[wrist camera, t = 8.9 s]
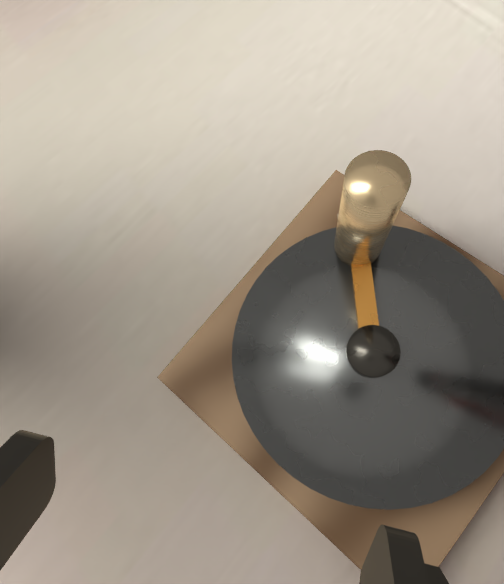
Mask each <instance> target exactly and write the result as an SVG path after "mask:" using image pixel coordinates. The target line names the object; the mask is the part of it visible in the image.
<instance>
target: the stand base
mask: <svg viewBox="0 0 504 584" xmlns="http://www.w3.org/2000/svg"><path fill="white" fill-rule="evenodd" d="M344 176H345V175H343V174H342V173H340V172H339V171H337V170H336V171H335V172H334V173H333V174H332V175H331V177H330V178H329V179H328V180H327V181H326V182H325V184H324V185H323V186H322V187H321V188H320V189H319V190H318V192H317V193H316V194H315V195H314V196H313V197H312V199H311V200H310V201H309V202H308V203H307V204H306V206H305V207H304V208H303V209H302V210H301V211H300V213H299V214H298V215H297V216H296V217H295V218H294V219H293V221H292V222H291V223H290V224H289V225H288V226H287V228H286V229H285V230H284V231H283V232H282V233H281V235H280V236H279V237H278V238H277V239H276V240H275V242H274V243H273V244H272V245H271V246H270V247H269V248H268V250H267V251H266V252H265V253H264V254H263V255H262V257H261V258H260V259H259V260H258V261H257V262H256V264H255V265H254V266H253V267H252V268H251V269H250V271H249V272H248V273H247V274H246V275H245V276H244V277H243V279H242V280H241V281H240V282H239V283H238V284H237V286H236V287H235V288H234V289H233V290H232V291H231V293H230V294H229V295H228V296H227V297H226V298H225V300H224V301H223V302H222V303H221V304H220V305H219V306H218V308H217V309H216V310H215V311H214V312H213V313H212V315H211V316H210V317H209V318H208V319H207V320H206V322H205V323H204V324H203V325H202V326H201V327H200V329H199V330H198V331H197V332H196V333H195V334H194V335H193V337H192V338H191V339H190V340H189V341H188V342H187V344H186V345H185V346H184V347H183V348H182V349H181V351H180V352H179V353H178V354H177V355H176V356H175V358H174V359H173V360H172V361H171V362H170V363H169V364H168V366H167V367H166V368H165V369H164V370H163V371H162V373H161V374H160V375H159V376H158V377H157V378H159V379H160V380H161V381H162V382H163V383H164V384H165V385H166V386H167V387H168V388H169V389H170V390H171V391H172V392H173V393H174V394H175V395H177V396H178V397H179V398H180V399H181V400H182V401H183V402H184V403H185V404H186V405H187V406H188V407H189V408H190V409H191V410H192V411H193V412H194V413H196V414H197V415H198V416H199V417H200V418H201V419H202V420H203V421H204V422H205V423H206V424H207V425H208V426H209V427H210V428H211V429H212V430H214V431H215V432H216V433H217V434H218V435H219V436H220V437H221V438H222V439H223V440H224V441H225V442H226V443H227V444H228V445H229V446H230V447H232V448H233V449H234V450H235V451H236V452H237V453H238V454H239V455H240V456H241V457H242V458H243V459H244V460H245V461H246V462H247V463H248V464H249V465H251V466H252V467H253V468H254V469H255V470H256V471H257V472H258V473H259V474H260V475H261V476H262V477H263V478H264V479H265V480H266V481H267V482H269V483H270V484H271V485H272V486H273V487H274V488H275V489H276V490H277V491H278V492H279V493H280V494H281V495H282V496H283V497H284V498H285V499H287V500H288V501H289V502H290V503H291V504H292V505H293V506H294V507H295V508H296V509H297V510H298V511H299V512H300V513H301V514H302V515H303V516H305V517H306V518H307V519H308V520H309V521H310V522H311V523H312V524H313V525H314V526H315V527H316V528H317V529H318V530H319V531H320V532H321V533H322V534H324V535H325V536H326V537H327V538H328V539H329V540H330V541H331V542H332V543H333V544H334V545H335V546H336V547H337V548H338V549H339V550H340V551H342V552H343V553H344V554H345V555H346V556H347V557H348V558H349V559H350V560H351V561H352V562H353V563H354V564H355V565H356V566H357V567H358V568H360V569H361V570H362V566H363V564H364V561H365V559H366V556H367V554H368V552H369V549H370V547H371V544H372V542H373V540H374V537H375V535H376V532H377V530H378V528H379V526H380V525H386V526H390V527H394V528H398V529H401V530H405V531H409V532H413V533H415V534H416V535H417V537H418V539H419V542H420V546H421V550H422V555H423V559H424V563H425V564H429V565H433V566H437V567H439V565H440V564H441V562H442V561H443V560H444V558H445V557H446V555H447V554H448V552H449V551H450V549H451V548H452V547H453V545H454V544H455V542H456V541H457V539H458V538H459V536H460V535H461V534H462V532H463V531H464V529H465V528H466V526H467V525H468V523H469V522H470V521H471V519H472V518H473V516H474V515H475V513H476V512H477V510H478V509H479V508H480V506H481V505H482V503H483V502H484V500H485V499H486V497H487V496H488V495H489V493H490V492H491V490H492V489H493V487H494V486H495V484H496V483H497V482H498V480H499V479H500V477H501V476H502V474H503V473H504V449H503V451H502V452H501V454H500V455H499V457H498V458H497V459H496V460H495V461H494V462H493V463H492V465H491V466H490V467H489V468H488V469H487V470H486V471H485V472H484V473H483V474H482V475H481V476H479V477H478V478H477V479H476V480H474V481H473V482H472V483H471V484H470V485H468V486H466V487H465V488H463V489H461V490H460V491H458V492H456V493H454V494H453V495H451V496H448V497H446V498H443V499H441V500H438V501H436V502H433V503H430V504H426V505H422V506H417V507H413V508H405V509H393V510H386V509H369V508H364V507H359V506H354V505H348V504H346V503H343V502H340V501H337V500H334V499H331V498H328V497H326V496H324V495H322V494H320V493H318V492H316V491H314V490H312V489H310V488H308V487H307V486H305V485H304V484H302V483H301V482H299V481H298V480H296V479H295V478H293V477H292V476H291V475H290V474H289V473H287V472H286V471H285V470H284V469H283V468H282V467H281V466H279V465H278V464H277V463H276V462H275V461H274V459H273V458H272V457H271V456H270V455H269V454H268V453H267V452H266V450H265V449H264V448H263V447H262V445H261V444H260V442H259V441H258V439H257V438H256V436H255V435H254V433H253V432H252V430H251V428H250V426H249V424H248V422H247V420H246V418H245V416H244V414H243V411H242V409H241V406H240V403H239V400H238V397H237V393H236V389H235V384H234V380H233V370H232V342H233V336H234V330H235V325H236V322H237V319H238V315H239V312H240V309H241V307H242V305H243V302H244V300H245V298H246V296H247V294H248V292H249V290H250V289H251V287H252V286H253V284H254V282H255V281H256V279H257V278H258V277H259V276H260V274H261V273H262V272H263V271H264V269H265V268H266V267H267V266H268V265H269V264H270V263H271V262H272V261H273V260H274V259H275V258H276V257H278V256H279V255H280V254H281V253H283V252H284V251H285V250H287V249H288V248H289V247H291V246H292V245H294V244H296V243H298V242H299V241H301V240H303V239H305V238H306V237H309V236H311V235H314V234H316V233H319V232H321V231H324V230H328V229H331V228H335V227H337V222H338V215H339V209H340V202H341V195H342V189H343V182H344ZM393 226H398V227H403V228H408V229H411V230H414V231H417V232H421V233H424V234H426V235H428V236H431V237H433V238H435V239H437V240H439V241H442V242H443V243H445V244H447V245H448V246H450V247H452V248H453V249H455V250H457V251H458V252H459V253H461V254H462V255H463V256H465V257H466V258H467V259H468V260H470V261H471V262H472V263H473V264H474V265H475V266H476V267H477V268H478V269H479V270H480V271H481V272H483V273H484V274H485V275H486V277H487V278H488V279H489V280H490V282H491V283H492V284H493V285H494V287H495V288H496V289H497V290H498V292H499V293H500V295H501V297H502V298H503V300H504V276H503V275H502V274H500V273H499V272H497V271H495V270H494V269H492V268H491V267H489V266H487V265H486V264H484V263H483V262H481V261H480V260H478V259H476V258H475V257H473V256H472V255H470V254H468V253H467V252H465V251H464V250H462V249H461V248H459V247H457V246H456V245H454V244H453V243H451V242H449V241H448V240H446V239H445V238H443V237H442V236H440V235H438V234H437V233H435V232H434V231H432V230H430V229H429V228H427V227H426V226H424V225H423V224H421V223H419V222H418V221H416V220H415V219H413V218H411V217H410V216H408V215H407V214H405V213H403V212H402V211H400V210H399V212H398V215H397V217H396V219H395V221H394V223H393Z"/></svg>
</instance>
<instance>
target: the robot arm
mask: <svg viewBox="0 0 504 584" xmlns="http://www.w3.org/2000/svg"><path fill="white" fill-rule="evenodd" d="M55 483H56V477H55V456H54V441H53V439H52V438H51V437H47V436H44V435H40V434H36V433H32V432H28V431H24V430H21V431H18V432H16V433H15V434H14V435H13V436H12V437H11V438H10V439H9V440H8V441H7V442H6V443H5V444H4V445H3V446H2V447H1V448H0V570H1V569H2V567H3V566H4V565H5V563H6V562H7V561H8V559H9V558H10V556H11V555H12V554H13V552H14V551H15V550H16V548H17V547H18V545H19V544H20V543H21V541H22V540H23V539H24V537H25V536H26V534H27V533H28V532H29V530H30V529H31V528H32V526H33V525H34V523H35V522H36V521H37V519H38V518H39V517H40V515H41V514H42V512H43V511H44V510H45V508H46V507H47V505H48V503H49V501H50V499H51V497H52V494H53V492H54V488H55ZM360 584H449V583H448V581H447V580H446V578H445V576H444V575H443V573H442V571H441V570H440V568H439V567H437V566H433V565H429V564H425V563H424V559H423V555H422V550H421V546H420V542H419V539H418V537H417V535H416V534H415V533H413V532H409V531H405V530H401V529H398V528H394V527H390V526H386V525H380V526H379V528H378V530H377V532H376V535H375V537H374V540H373V542H372V544H371V547H370V549H369V552H368V554H367V556H366V559H365V561H364V564H363V566H362V570H361V576H360Z"/></svg>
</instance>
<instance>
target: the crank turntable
mask: <svg viewBox="0 0 504 584" xmlns="http://www.w3.org/2000/svg"><path fill="white" fill-rule="evenodd" d="M410 184H411V174H410V170H409V168H408V166H407V164H406V163H405V162H404V161H403V160H402V159H401V158H400V157H398V156H397V155H395V154H393V153H390V152H387V151H382V150H374V151H368V152H365V153H362V154H360V155H358V156H357V157H356V158H354V159H353V160H352V161H351V162H350V164H349V165H348V167H347V169H346V171H345V176H344V182H343V189H342V195H341V202H340V209H339V215H338V222H337V227H335V228H331V229H328V230H324V231H321V232H319V233H316V234H314V235H311V236H309V237H306V238H305V239H303V240H301V241H299V242H298V243H296V244H294V245H292V246H291V247H289V248H288V249H287V250H285V251H284V252H283V253H281V254H280V255H279V256H278V257H276V258H275V259H274V260H273V261H272V262H271V263H270V264H269V265H268V266H267V267H266V268H265V269H264V271H263V272H262V273H261V274H260V276H259V277H258V278H257V279H256V281H255V282H254V284H253V286H252V287H251V289H250V290H249V292H248V294H247V296H246V298H245V300H244V302H243V305H242V307H241V309H240V312H239V315H238V319H237V322H236V325H235V330H234V336H233V342H232V370H233V380H234V384H235V389H236V393H237V397H238V400H239V403H240V406H241V409H242V411H243V414H244V416H245V418H246V420H247V422H248V424H249V426H250V428H251V430H252V432H253V433H254V435H255V436H256V438H257V439H258V441H259V442H260V444H261V445H262V447H263V448H264V449H265V450H266V452H267V453H268V454H269V455H270V456H271V457H272V458H273V459H274V461H275V462H276V463H277V464H278V465H279V466H281V467H282V468H283V469H284V470H285V471H286V472H287V473H289V474H290V475H291V476H292V477H293V478H295V479H296V480H298V481H299V482H301V483H302V484H304V485H305V486H307V487H308V488H310V489H312V490H314V491H316V492H318V493H320V494H322V495H324V496H326V497H328V498H331V499H334V500H337V501H340V502H343V503H346V504H348V505H354V506H359V507H364V508H369V509H386V510H393V509H405V508H413V507H417V506H422V505H426V504H430V503H433V502H436V501H438V500H441V499H443V498H446V497H448V496H451V495H453V494H454V493H456V492H458V491H460V490H461V489H463V488H465V487H466V486H468V485H470V484H471V483H472V482H473V481H474V480H476V479H477V478H478V477H479V476H481V475H482V474H483V473H484V472H485V471H486V470H487V469H488V468H489V467H490V466H491V465H492V463H493V462H494V461H495V460H496V459H497V458H498V457H499V455H500V454H501V452H502V451H503V449H504V300H503V298H502V297H501V295H500V293H499V292H498V290H497V289H496V288H495V287H494V285H493V284H492V283H491V282H490V280H489V279H488V278H487V277H486V275H485V274H484V273H483V272H481V271H480V270H479V269H478V268H477V267H476V266H475V265H474V264H473V263H472V262H471V261H470V260H468V259H467V258H466V257H465V256H463V255H462V254H461V253H459V252H458V251H457V250H455V249H453V248H452V247H450V246H448V245H447V244H445V243H443V242H442V241H439V240H437V239H435V238H433V237H431V236H428V235H426V234H424V233H421V232H417V231H414V230H411V229H408V228H403V227H398V226H393V223H394V221H395V219H396V217H397V215H398V212H399V210H400V208H401V206H402V203H403V201H404V199H405V197H406V194H407V192H408V190H409V187H410Z"/></svg>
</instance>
